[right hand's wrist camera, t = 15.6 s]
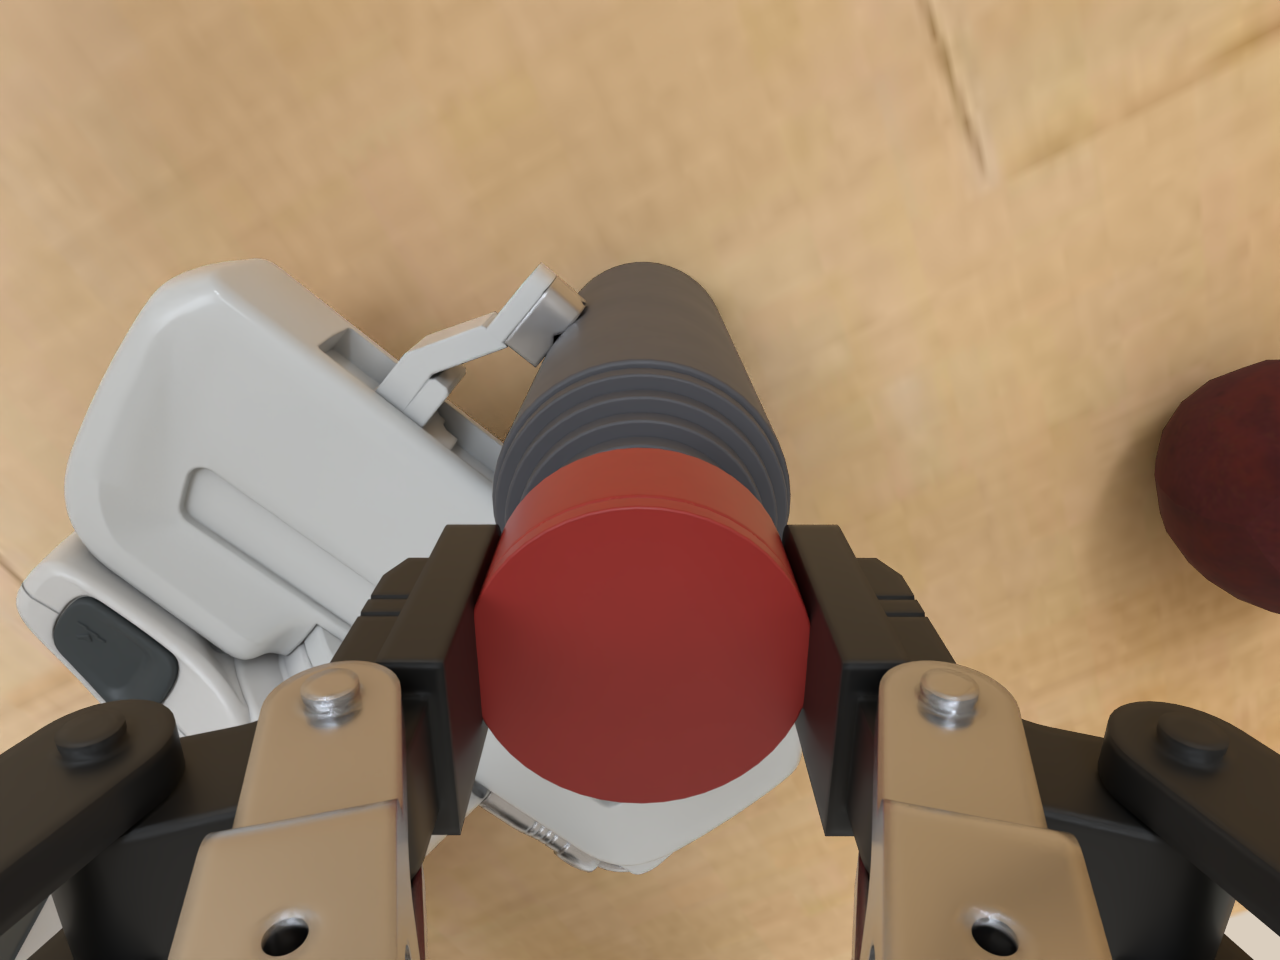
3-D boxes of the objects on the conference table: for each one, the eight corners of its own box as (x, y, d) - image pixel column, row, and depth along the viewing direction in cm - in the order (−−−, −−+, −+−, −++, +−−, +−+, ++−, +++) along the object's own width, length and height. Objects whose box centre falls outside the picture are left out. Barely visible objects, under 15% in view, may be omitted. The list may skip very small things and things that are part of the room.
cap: (837, 508, 12) (877, 580, 10) (715, 739, 13) (729, 842, 11) (550, 401, 11) (531, 453, 9) (456, 654, 12) (422, 746, 10)
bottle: (751, 381, 27) (908, 723, 11) (608, 449, 28) (557, 859, 12) (681, 231, 25) (745, 372, 9) (531, 308, 26) (348, 562, 10)
